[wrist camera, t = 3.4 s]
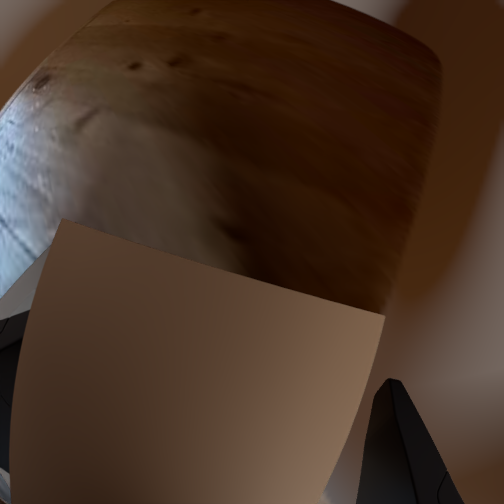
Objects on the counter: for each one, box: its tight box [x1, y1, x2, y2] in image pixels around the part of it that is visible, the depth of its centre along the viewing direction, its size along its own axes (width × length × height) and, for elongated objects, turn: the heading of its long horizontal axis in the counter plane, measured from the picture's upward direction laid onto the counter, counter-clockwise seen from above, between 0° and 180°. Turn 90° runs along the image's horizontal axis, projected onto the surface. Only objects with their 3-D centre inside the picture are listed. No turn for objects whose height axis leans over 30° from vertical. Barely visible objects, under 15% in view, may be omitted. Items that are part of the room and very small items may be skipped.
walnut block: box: [9, 218, 385, 504], centre depth 9 cm, size 4×5×13 cm
